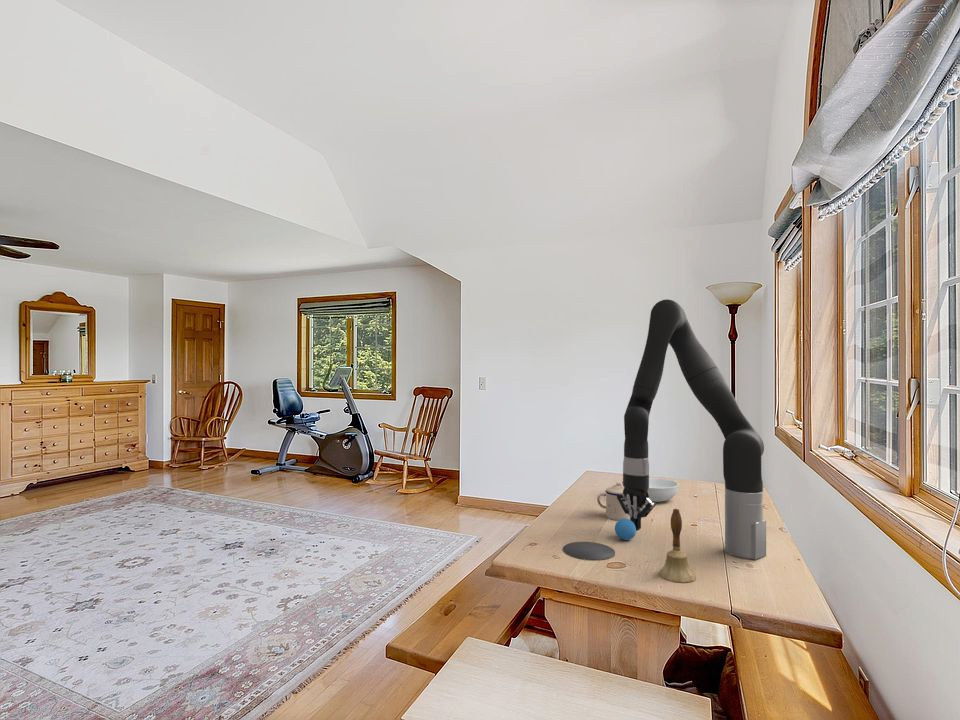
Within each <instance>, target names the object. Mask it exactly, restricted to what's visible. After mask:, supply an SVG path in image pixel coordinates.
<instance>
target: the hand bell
mask: <svg viewBox="0 0 960 720" xmlns="http://www.w3.org/2000/svg"><path fill="white" fill-rule="evenodd" d="M682 529H683V520H682V516H681V513H680V509H679V508H673V509H672V513H671V516H670V530H671V532H672V549H671V550H669V551H667V553H666V559H665V563H664V565H663V566H662V568H660V570H659V571H658V575H659V577H660V578H662V579H664V580H666V581H670V582H672V583H682V584H685V583H686V584H687V583H692V582H694V581H695V580H696V575H695V573H693V571H692V570H691V568H690V566H689V562H688V556H687V553H685V552H683V551H682V549H681V539H680V537H681V531H682Z"/></svg>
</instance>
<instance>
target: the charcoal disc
mask: <svg viewBox="0 0 960 720" xmlns="http://www.w3.org/2000/svg"><path fill="white" fill-rule="evenodd" d="M562 551H563V553H564V554H566V555H568V556H570V557H572V558H576V559H579V560H584V559H585V560H586V561H602V560H608V559H612V558H613V557H615V555H616V550H615V549H614V548H612V547H611V546H609V545H607V544H603V543H600V542H593V541H574V542H569V543H566V544H564V546H562ZM585 560H584V561H585Z"/></svg>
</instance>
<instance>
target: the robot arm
mask: <svg viewBox="0 0 960 720" xmlns="http://www.w3.org/2000/svg"><path fill="white" fill-rule="evenodd" d="M645 342H646V343H645V346H644V351H643V354H642V357H641V361H640V364H639V366H638V369H637V373H636V376H635V380H634V383H633V386H632V392H631V396H630V397H629V401H628V404H627V407H626V409H625V412H624V416H623V425H624V426H623V428H624V429H623V430H624V442H623V461H622V462H623V463H622V480H623V487H624V490H623V493H622V494H621V495H617V499H618V501H619V503H620V505H621V507H622V508H623V510H624V512H625V514H628V515H629V516H630V520H631V521H632V522H633V523H634V525H635V527H636V532H638V531H640V530H641V528H642V518H646V517H648V516H649V514H650V513H651V511H653V509H654V508H655V507H656V506H657V505H656V502H651V500H650V499H649V494H648V488H649V477H650V463H649V462H650V461H649V441H648V436H649V424H650V423H649V422H650V421H649V419H650V414H651V409H652V405H653V402H654V400H655V399H656V396H657V393H658V391H659V388H660V384H661V381H662V378H663V377H662V376H663V372H664V368H665V367H664V366H665V360H666V356H667V355H666V354H667V351H668V347H669V345H670V347H671V348H672V350H673V352H674V355H675V358H676V359H677V362H678V365H679V368H680V370H681V373H682V375H683V377H684V379H685V381H686V383H687V385H688V387H689V389H690V390H691V392H692V394H693V395H694V396H695V398H696V399H697V400H698V401H699V403H700V404H701V405H702V407H704V409H705V410H706V411H707V412H708V413H709V414H710V415H711V416H712V418H713V420H715V423H716V424H717V426H718V427H719V429H720V431H721V433H722V435H723V438H724V442H723V446H722V447H723V448H722V472H723V479H724V551H725V553H727V554H729V555H731V556H734V557H738V558H742V559H751V560H753V561H754V560H759V559H762V558H763V557H766V556H767V520H766V519H765V518H763V517H764V511H763V510H764V509H763V508H764V505H763V504H764V503H763V502H764V501H763V499H764V491H763V490H764V481H763V477H762V456H763V454H764V451H765V445H764V441H763V439H762V437H761V436H760V435H759V434H758V432H757V431H756V430H755V428H754V427H753V426H752V424H751V423H750V422H749V420H748V419H747V418H746V415H744V413H743V411H742V410H741V409H740V407H739V405H738V403H737V400H736V397H735V396H734V394H733V392H732V391H731V389H730V387H729V385H728V383H727V381H726V379H725V378H724V377H725V376H724V375H723V374H722V372H721V371H720V369H719V368H718V366H717V364H716V363H715V361H714V359H713V358H712V356H711V355H710V354H709V352H707V350H706V348H704V347H703V345H702V344H701V343H700V341H699V340H698V338H697V336H696V335H695V332H694V331H693V329H692V327H691V325H690V322H689V319H688V318H687V314H686V311H685V310H684V309H683V307H682V306H681V305H680V304H679V303H678V302H676V301H675V300H672V299H669V298H667V299H661V300H660V301H658V302H656V303H655V304H654V305H653V306H652V309H651V310H650V315H649V324H648V331H647V337H646V341H645Z"/></svg>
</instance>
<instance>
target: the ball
mask: <svg viewBox="0 0 960 720" xmlns="http://www.w3.org/2000/svg"><path fill="white" fill-rule="evenodd" d="M614 532H615V534H616V536H617V537H618V538H619V539H621V540H623V541H630V540H632V539H633V538H634V537H635V535H636V533H637V531H636V527H635V525H634V523H633V522H632V521H631V520H629V519H620V520H616V522H615V525H614Z"/></svg>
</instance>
